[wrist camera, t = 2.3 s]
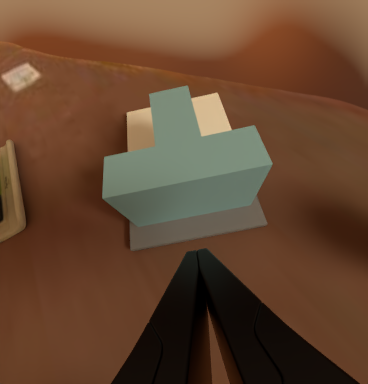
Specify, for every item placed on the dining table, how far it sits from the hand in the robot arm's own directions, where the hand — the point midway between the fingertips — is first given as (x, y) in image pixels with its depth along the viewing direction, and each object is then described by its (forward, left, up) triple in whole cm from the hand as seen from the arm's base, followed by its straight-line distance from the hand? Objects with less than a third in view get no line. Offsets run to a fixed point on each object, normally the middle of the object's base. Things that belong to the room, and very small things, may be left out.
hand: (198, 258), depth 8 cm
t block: (+7, +9, -12) cm, 16 cm away
